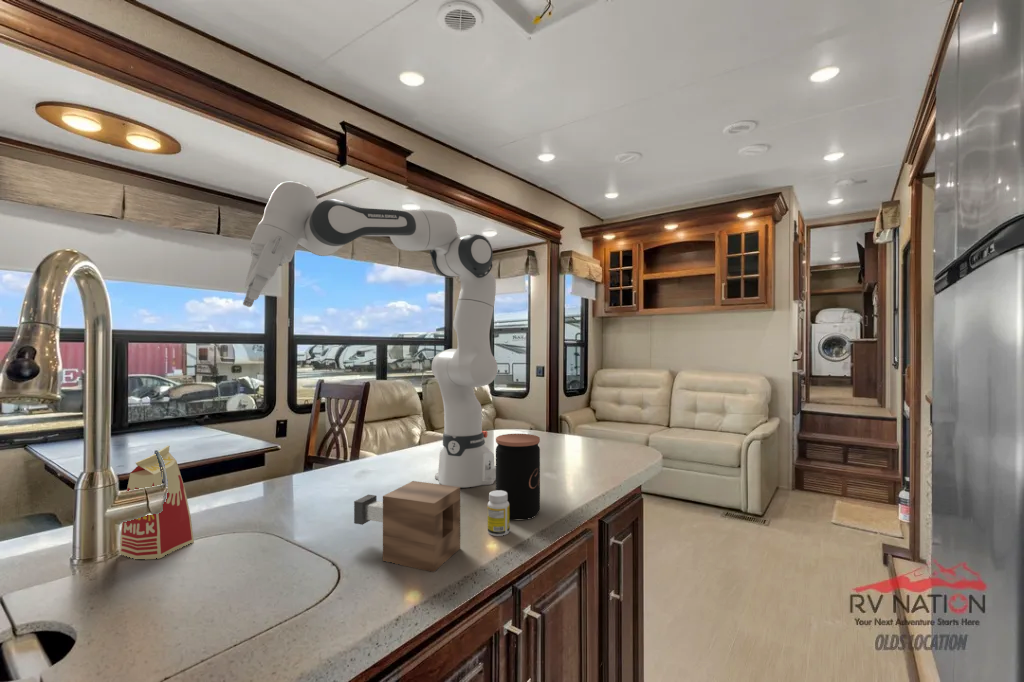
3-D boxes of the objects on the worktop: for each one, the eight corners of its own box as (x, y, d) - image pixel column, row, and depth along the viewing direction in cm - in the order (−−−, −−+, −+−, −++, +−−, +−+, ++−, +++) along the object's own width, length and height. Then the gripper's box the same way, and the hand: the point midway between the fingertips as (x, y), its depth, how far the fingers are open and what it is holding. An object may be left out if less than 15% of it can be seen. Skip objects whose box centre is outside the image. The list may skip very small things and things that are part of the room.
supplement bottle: (499, 525, 102) (499, 488, 102) (514, 532, 99) (514, 493, 99) (482, 532, 99) (482, 493, 99) (497, 538, 95) (497, 498, 95)
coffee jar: (536, 523, 104) (536, 443, 104) (490, 519, 106) (490, 441, 106) (543, 506, 114) (542, 434, 114) (501, 503, 116) (501, 432, 116)
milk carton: (159, 538, 96) (159, 442, 96) (196, 541, 94) (196, 444, 94) (113, 558, 87) (113, 452, 87) (153, 562, 85) (153, 455, 85)
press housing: (413, 539, 95) (412, 480, 95) (460, 548, 91) (460, 486, 91) (382, 561, 86) (382, 496, 86) (434, 571, 82) (434, 503, 82)
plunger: (368, 515, 95) (368, 494, 96) (417, 523, 91) (417, 501, 91) (354, 523, 91) (354, 501, 91) (405, 532, 87) (405, 509, 87)
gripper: (297, 240, 96) (272, 299, 92) (280, 263, 113) (258, 314, 109) (265, 225, 93) (238, 287, 89) (252, 251, 109) (229, 304, 106)
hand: (249, 302), depth 99 cm, fingers open, 8 cm apart
